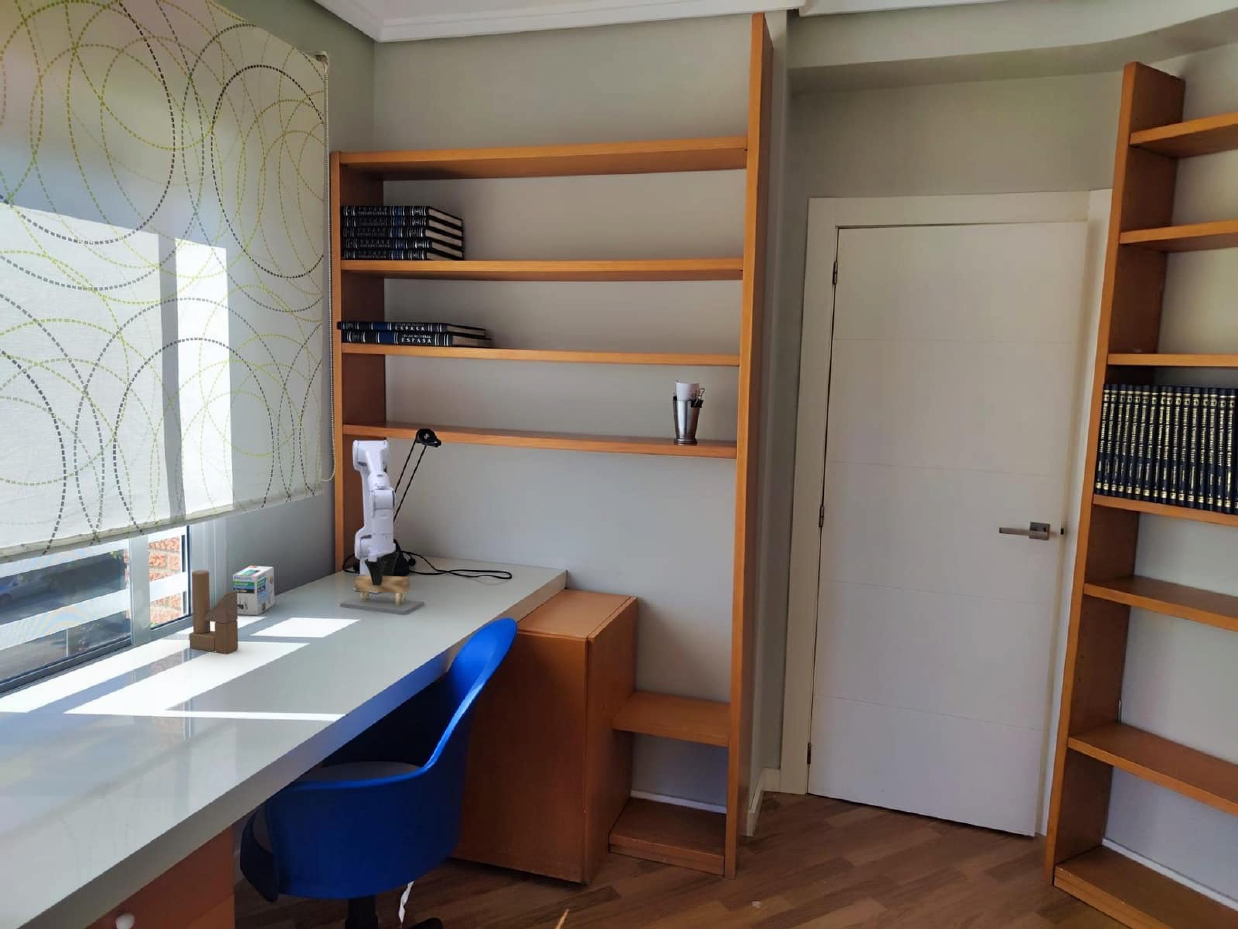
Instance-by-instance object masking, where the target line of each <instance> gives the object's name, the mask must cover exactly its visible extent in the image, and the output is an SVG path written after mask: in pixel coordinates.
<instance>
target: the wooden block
mask: <svg viewBox="0 0 1238 929" xmlns="http://www.w3.org/2000/svg"><path fill="white" fill-rule="evenodd" d="M191 586H192V587H191V588H192V592H191V594H192V596H191V597H192V623H193V624H192V626H193V631H192V632H190V633H189V648H190V649H195V648H196V650H202V651H207V650H210V651H209V652H213V651H216V653H218V652H220V653H219V654H224V653H225V654H226V655H228V654H230V652H231V653H233V652H235V651H238V650H239V635H238V633H239V632H238V631H239V630H238V629H239V628H238V627H239V625H238V624H239V623H238V618H239V617H238V615H239V614H237V590H236V591H233V590H232V591H229V592H227V593H224V595H223V596H222V597H221V598H220V599H219V600H218V601H217V603H216V604H215V605H213V607H212V608H211V598H210V597H211V596H210V594H211V593H210V592H211V590H210V571H209V570H206V569H199V570H194V571H192V572H191ZM211 622H213V623H214V630H211ZM237 649H238V650H237ZM234 650H235V651H234ZM225 654H224V655H225Z"/></svg>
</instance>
